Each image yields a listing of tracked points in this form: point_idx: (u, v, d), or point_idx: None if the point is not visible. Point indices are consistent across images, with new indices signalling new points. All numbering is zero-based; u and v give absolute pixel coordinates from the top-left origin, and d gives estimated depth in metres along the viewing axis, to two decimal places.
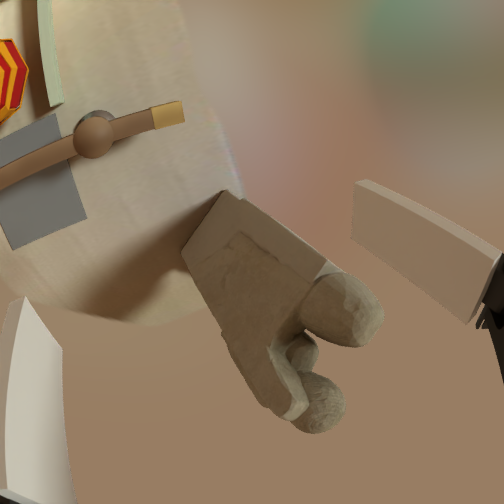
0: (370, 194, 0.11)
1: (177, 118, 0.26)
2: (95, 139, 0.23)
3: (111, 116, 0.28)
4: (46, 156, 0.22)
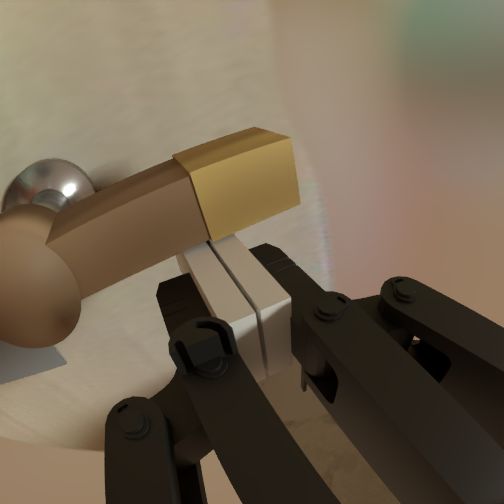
0: None
1: (280, 196, 0.09)
2: (26, 303, 0.06)
3: (78, 175, 0.11)
4: None
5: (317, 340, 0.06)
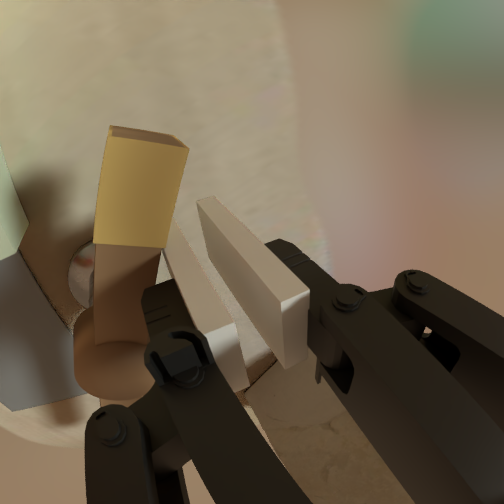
0: (203, 213, 0.11)
1: (164, 169, 0.07)
2: (125, 373, 0.10)
3: None
4: None
5: (335, 329, 0.06)
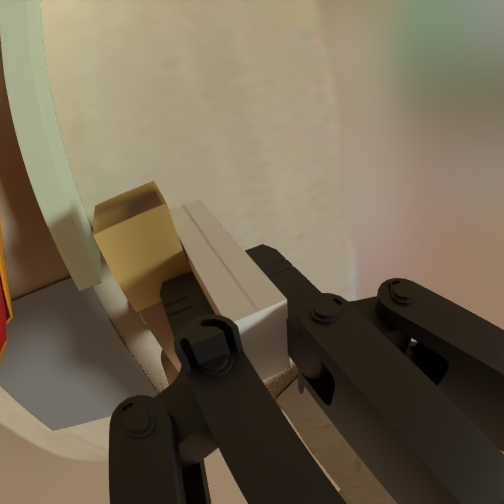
0: (188, 218, 0.11)
1: (156, 231, 0.08)
2: None
3: None
4: None
5: (313, 342, 0.06)
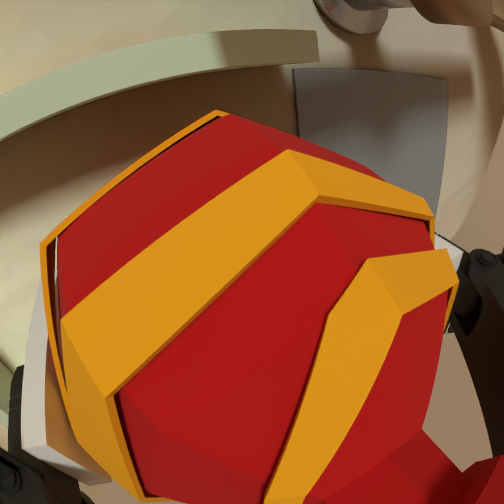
0: None
1: None
2: None
3: None
4: None
5: (476, 275, 0.06)
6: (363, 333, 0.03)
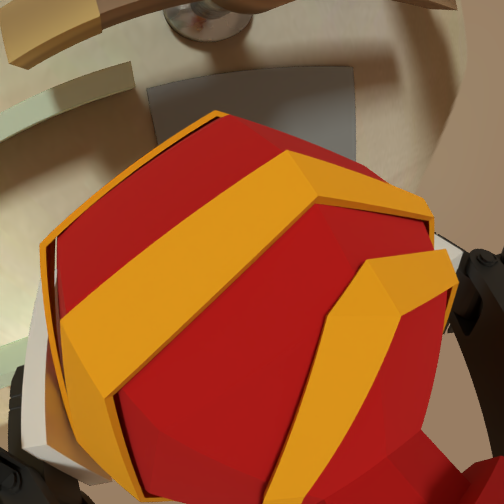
0: None
1: (18, 10, 0.04)
2: None
3: None
4: None
5: (476, 275, 0.06)
6: (362, 334, 0.03)
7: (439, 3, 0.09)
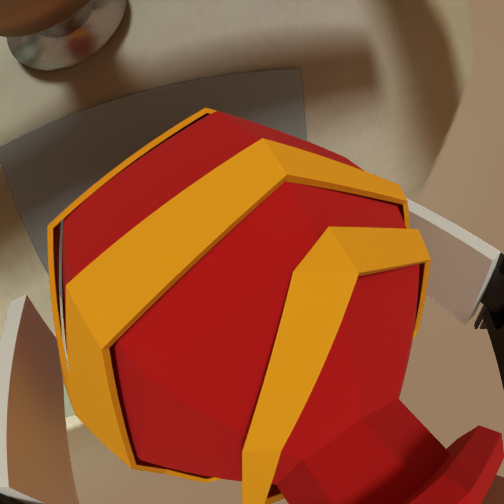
0: None
1: None
2: None
3: None
4: None
5: None
6: (324, 288, 0.03)
7: None
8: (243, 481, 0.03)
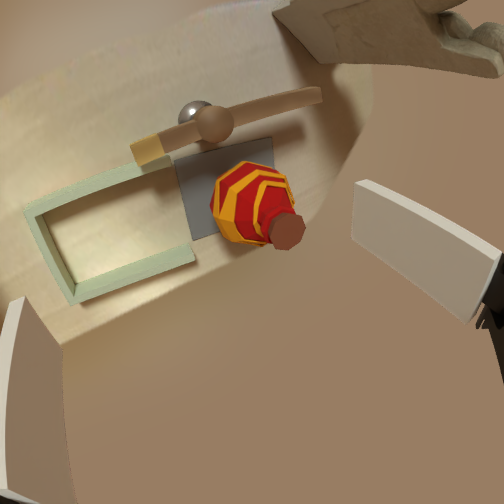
0: (370, 194, 0.11)
1: (138, 149, 0.26)
2: (214, 123, 0.28)
3: (187, 106, 0.32)
4: (258, 111, 0.30)
5: None
6: (262, 186, 0.31)
7: (306, 105, 0.32)
8: (253, 214, 0.31)
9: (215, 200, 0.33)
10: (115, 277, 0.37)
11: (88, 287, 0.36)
